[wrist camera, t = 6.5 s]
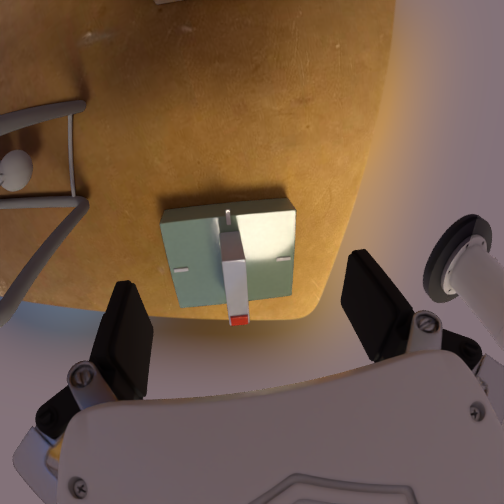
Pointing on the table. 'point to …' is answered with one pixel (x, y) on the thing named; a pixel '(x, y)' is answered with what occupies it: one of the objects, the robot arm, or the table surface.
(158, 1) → the button block
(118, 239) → the table surface
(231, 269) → the tap handle
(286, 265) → the panel
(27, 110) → the newton's cradle
